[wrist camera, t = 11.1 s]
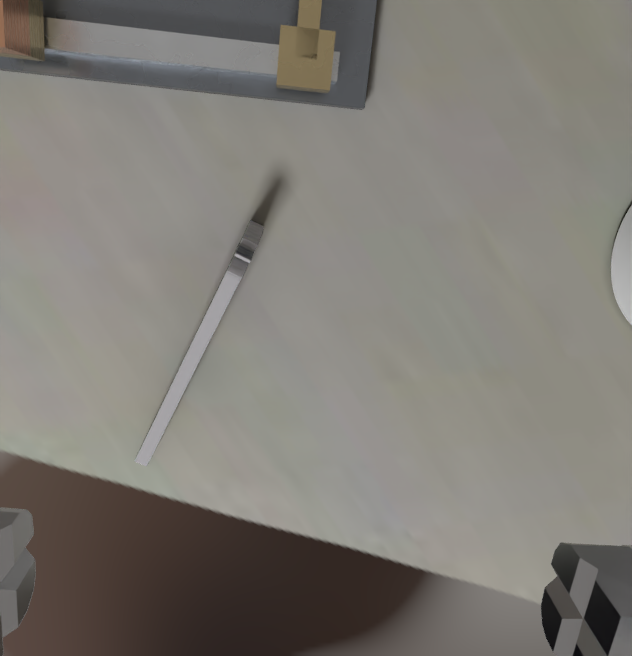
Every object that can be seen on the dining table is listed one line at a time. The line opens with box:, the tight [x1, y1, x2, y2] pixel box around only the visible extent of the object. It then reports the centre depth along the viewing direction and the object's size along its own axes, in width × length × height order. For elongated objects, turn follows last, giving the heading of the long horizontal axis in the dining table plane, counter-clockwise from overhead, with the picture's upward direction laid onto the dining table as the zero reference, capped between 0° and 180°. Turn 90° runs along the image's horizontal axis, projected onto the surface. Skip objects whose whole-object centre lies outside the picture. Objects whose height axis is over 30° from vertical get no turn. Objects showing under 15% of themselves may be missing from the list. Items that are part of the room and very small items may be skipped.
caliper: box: [134, 220, 264, 466], centre depth 39 cm, size 20×1×6 cm, turn 153°
